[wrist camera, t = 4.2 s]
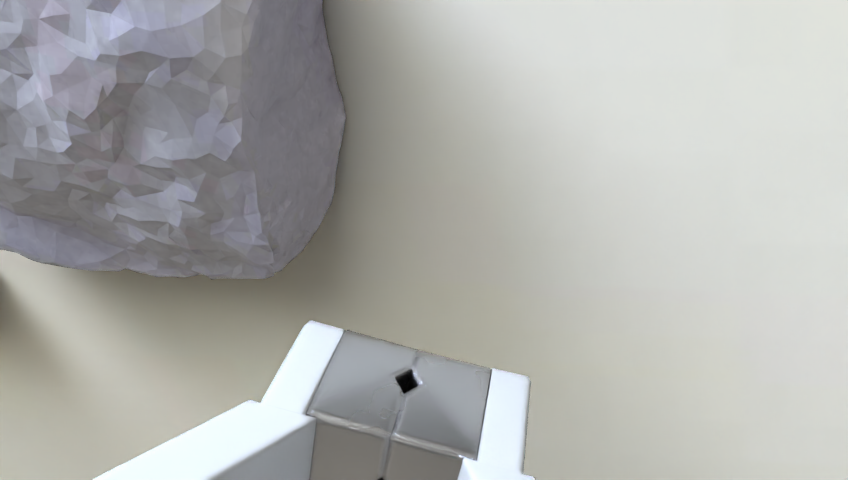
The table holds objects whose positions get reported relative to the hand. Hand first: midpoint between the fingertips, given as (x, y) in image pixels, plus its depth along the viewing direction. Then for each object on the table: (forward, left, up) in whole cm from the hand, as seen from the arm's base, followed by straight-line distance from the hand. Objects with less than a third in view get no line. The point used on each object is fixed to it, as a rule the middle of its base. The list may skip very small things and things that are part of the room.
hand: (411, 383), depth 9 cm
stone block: (+10, 0, -9) cm, 13 cm away
